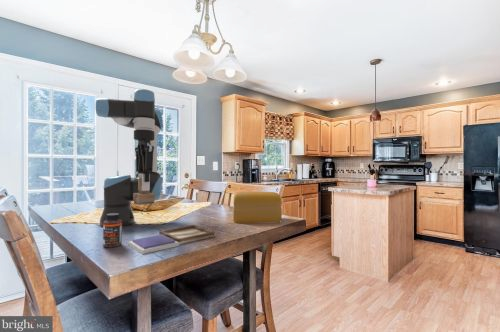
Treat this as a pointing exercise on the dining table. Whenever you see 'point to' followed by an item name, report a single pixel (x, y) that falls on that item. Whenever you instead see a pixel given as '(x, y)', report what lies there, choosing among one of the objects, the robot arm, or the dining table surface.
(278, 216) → the bread
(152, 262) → the dining table surface
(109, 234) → the supplement bottle
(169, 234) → the print board
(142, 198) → the stamp
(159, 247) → the ink pad
